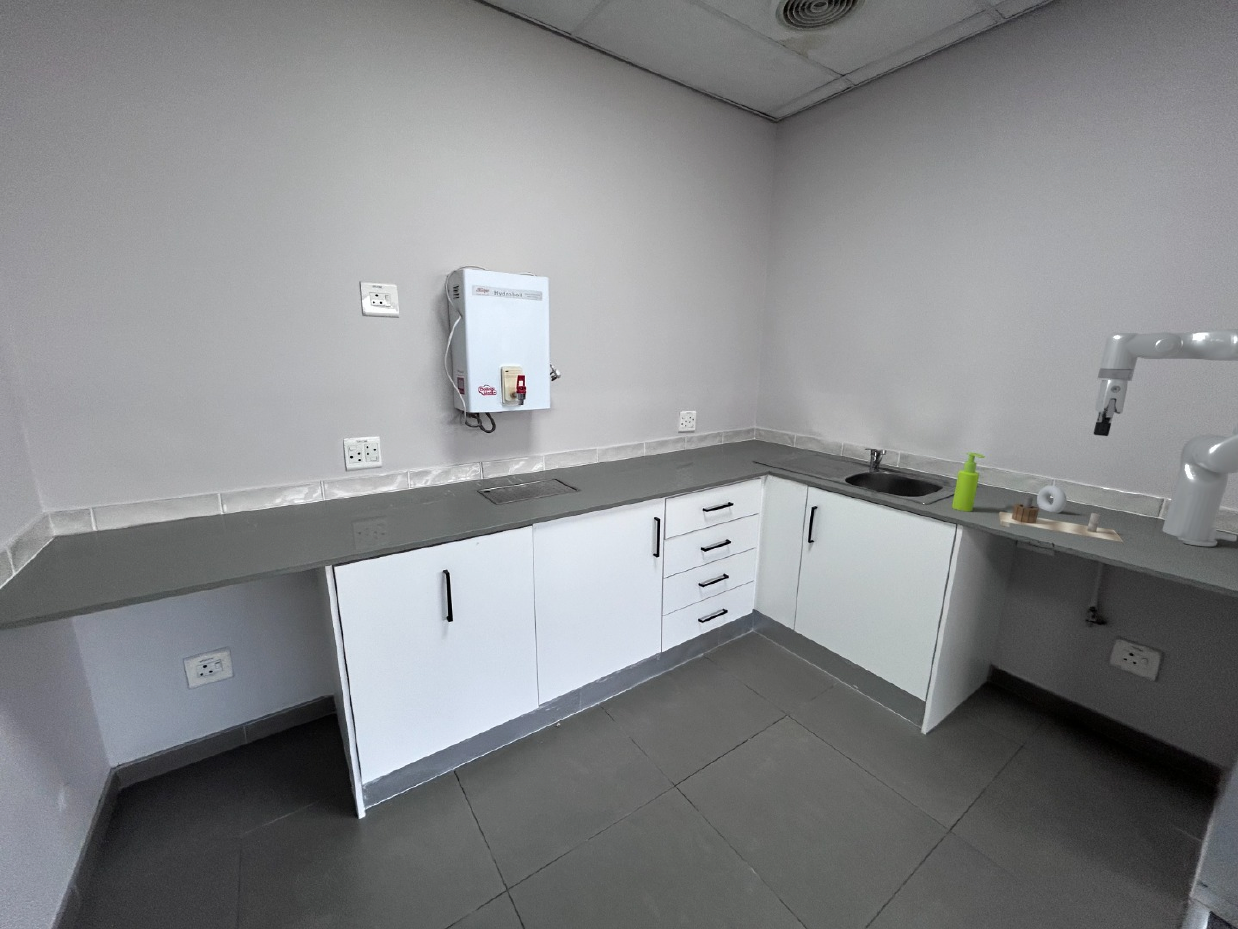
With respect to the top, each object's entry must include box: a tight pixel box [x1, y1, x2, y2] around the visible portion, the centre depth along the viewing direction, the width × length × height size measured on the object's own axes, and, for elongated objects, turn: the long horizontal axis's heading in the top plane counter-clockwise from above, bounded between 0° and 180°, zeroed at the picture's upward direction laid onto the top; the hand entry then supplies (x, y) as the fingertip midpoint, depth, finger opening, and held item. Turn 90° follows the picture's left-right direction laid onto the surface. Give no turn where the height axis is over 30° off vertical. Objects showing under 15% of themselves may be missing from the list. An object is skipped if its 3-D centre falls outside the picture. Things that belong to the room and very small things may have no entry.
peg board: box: [998, 495, 1124, 543], centre depth 153 cm, size 28×12×10 cm, turn 55°
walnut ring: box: [1011, 503, 1040, 523], centre depth 158 cm, size 6×6×4 cm
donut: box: [1036, 485, 1067, 514], centre depth 169 cm, size 10×4×10 cm, turn 179°
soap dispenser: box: [951, 452, 985, 512], centre depth 171 cm, size 6×7×20 cm
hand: (1100, 435), depth 154 cm, fingers closed
